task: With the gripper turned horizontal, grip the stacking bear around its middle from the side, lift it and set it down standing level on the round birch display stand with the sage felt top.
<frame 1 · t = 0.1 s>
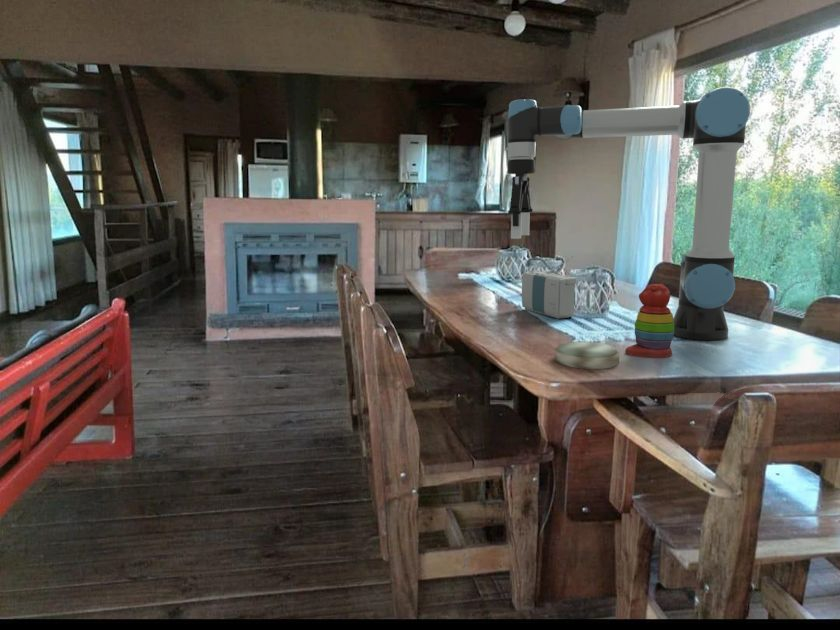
hand: (520, 237, 180), 28 cm above the table, tool pointing down, fingers open, 13 cm apart
display stand: (586, 360, 156), on the table
stereo radio cassette player: (547, 314, 215), on the table
stacking bear: (651, 354, 162), on the table
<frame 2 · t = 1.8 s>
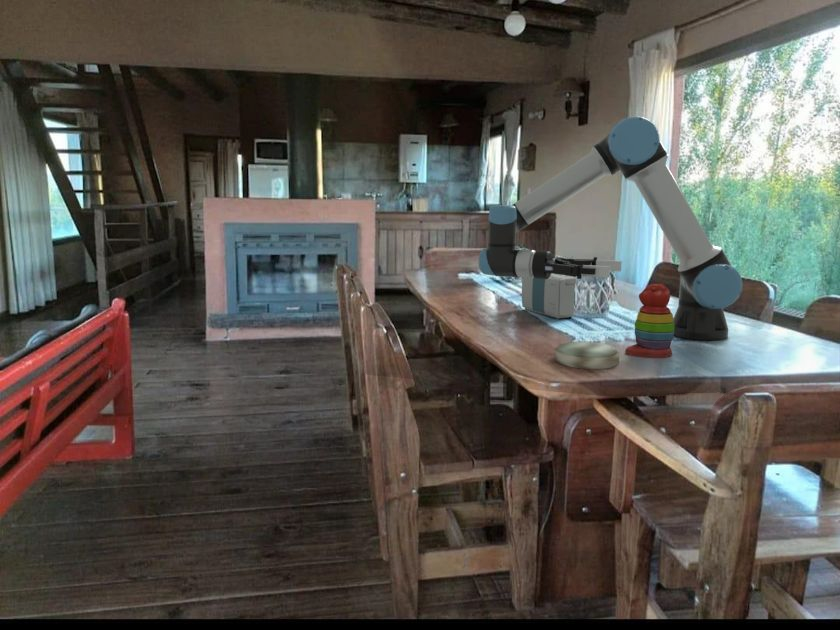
hand: (615, 269, 163), 21 cm above the table, tool horizontal, fingers open, 13 cm apart
nothing on the table moved.
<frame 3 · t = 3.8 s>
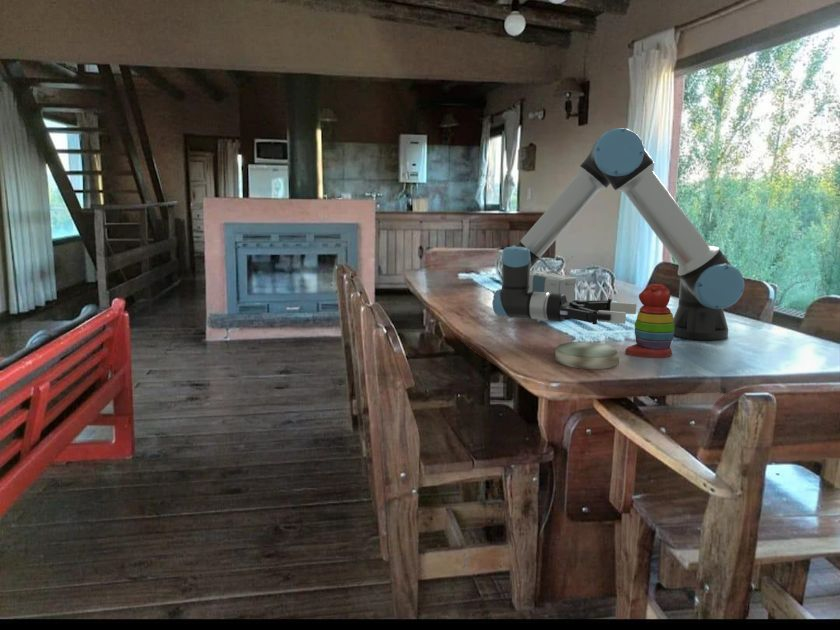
hand: (630, 313, 163), 10 cm above the table, tool horizontal, fingers open, 13 cm apart
nothing on the table moved.
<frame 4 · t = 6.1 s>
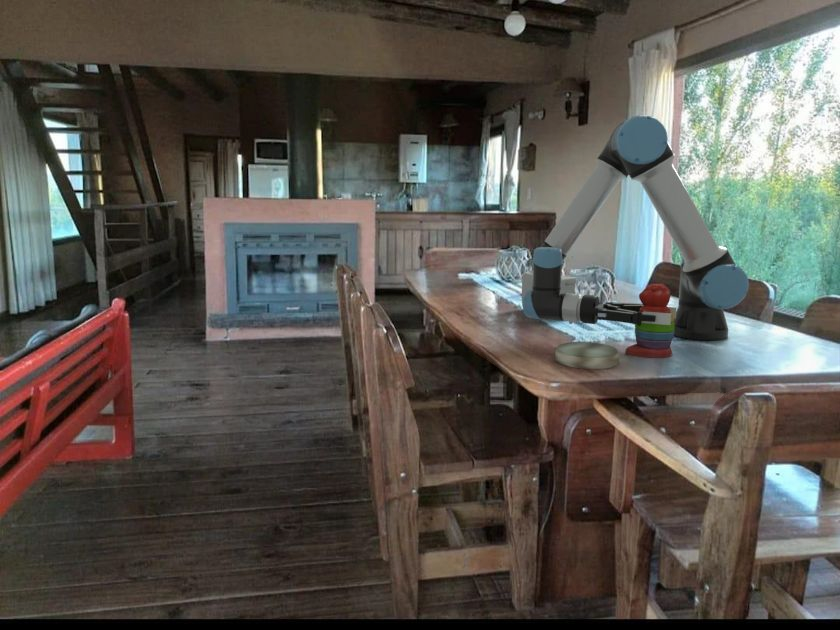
hand: (673, 315, 158), 10 cm above the table, tool horizontal, fingers closed on stacking bear, 9 cm apart
stacking bear: (651, 354, 162), on the table, touching gripper
everything else where it was.
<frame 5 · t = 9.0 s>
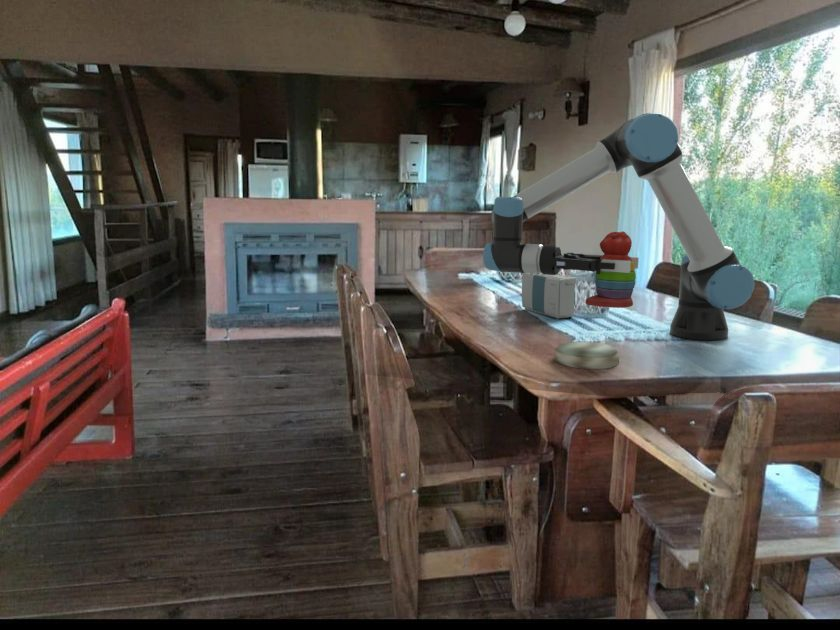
hand: (634, 264, 153), 23 cm above the table, tool horizontal, fingers closed on stacking bear, 9 cm apart
stacking bear: (612, 305, 157), point 13 cm above the table, touching gripper
everything else where it was.
when the fingers open (14 cm above the table, at t = 11.8 s): stacking bear drops 1 cm, resting on display stand.
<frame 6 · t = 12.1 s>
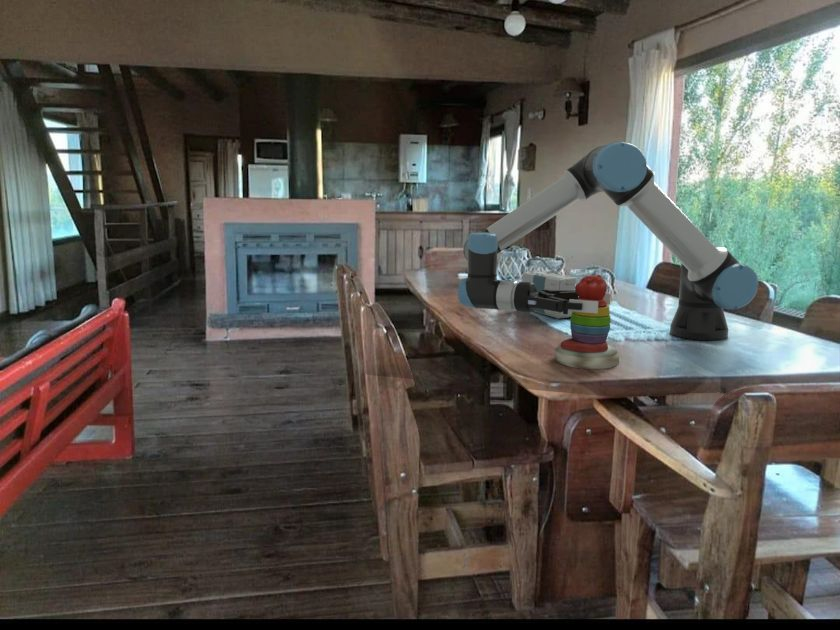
hand: (604, 302, 151), 14 cm above the table, tool horizontal, fingers open, 12 cm apart
stacking bear: (587, 348, 155), point 3 cm above the table, touching display stand
everything else where it was.
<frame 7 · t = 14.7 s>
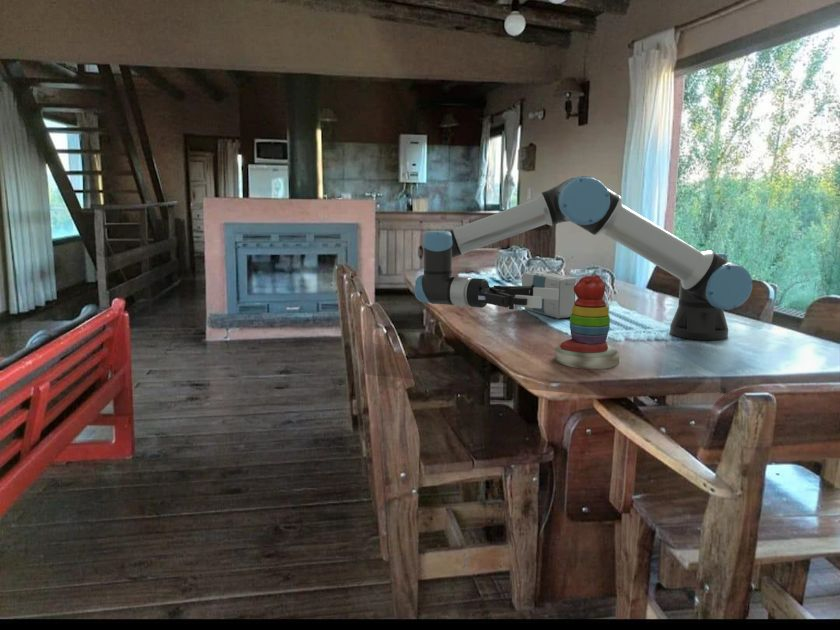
hand: (550, 298, 157), 15 cm above the table, tool horizontal, fingers open, 13 cm apart
nothing on the table moved.
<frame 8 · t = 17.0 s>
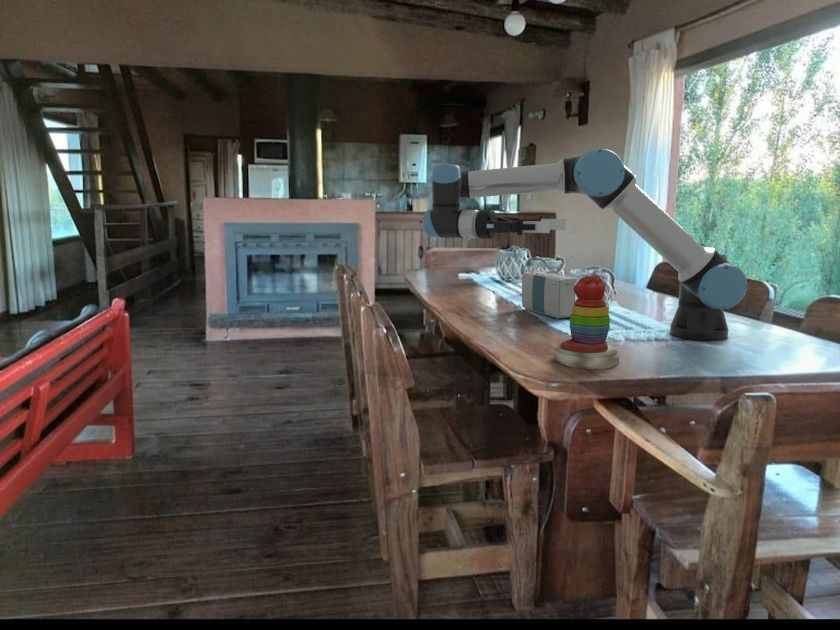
hand: (558, 225, 159), 32 cm above the table, tool horizontal, fingers open, 13 cm apart
nothing on the table moved.
at the end: stacking bear inside the target area on the display stand (0.2 cm from its centre), point 2.8 cm above the display stand's base; stacking bear tilted 0°; the gripper is holding nothing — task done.
